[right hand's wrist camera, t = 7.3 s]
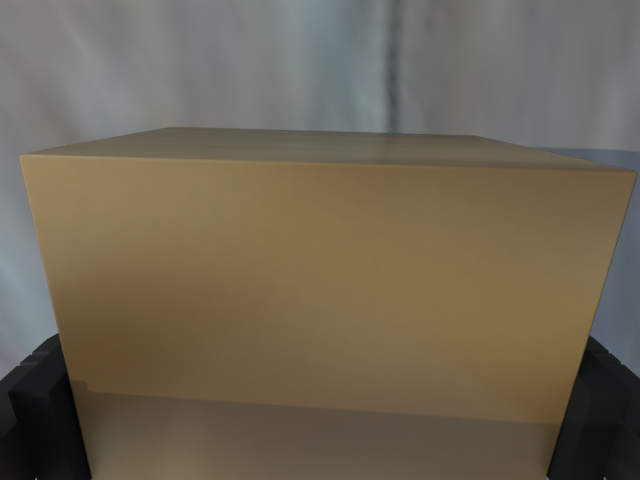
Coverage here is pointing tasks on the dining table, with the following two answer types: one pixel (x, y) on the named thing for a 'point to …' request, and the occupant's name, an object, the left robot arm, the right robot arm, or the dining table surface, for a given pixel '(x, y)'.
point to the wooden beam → (322, 300)
